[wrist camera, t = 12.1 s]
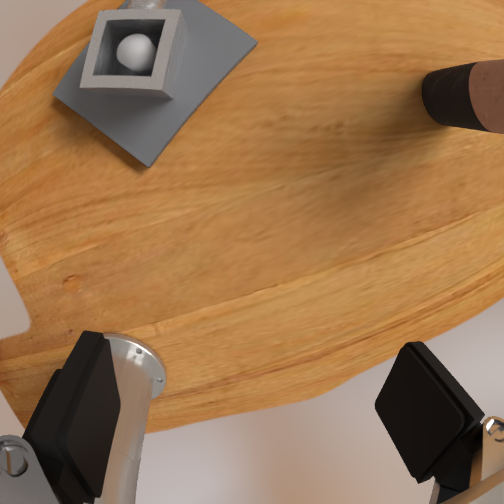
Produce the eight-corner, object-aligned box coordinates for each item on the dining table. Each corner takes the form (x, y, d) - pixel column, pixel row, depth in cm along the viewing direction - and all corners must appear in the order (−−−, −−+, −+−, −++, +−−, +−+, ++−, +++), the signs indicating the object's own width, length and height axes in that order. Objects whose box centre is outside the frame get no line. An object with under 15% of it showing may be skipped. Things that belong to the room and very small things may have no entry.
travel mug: (410, 76, 27) (552, 61, 8) (449, 63, 26) (577, 53, 8) (433, 136, 30) (573, 163, 11) (469, 117, 29) (595, 137, 10)
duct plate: (151, 165, 29) (136, 173, 23) (58, 95, 24) (29, 90, 19) (256, 45, 25) (264, 26, 19) (154, -19, 21) (143, -45, 15)
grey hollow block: (173, 98, 25) (161, 89, 19) (105, 95, 24) (79, 87, 18) (200, -8, 21) (196, -37, 15) (133, -10, 20) (116, -35, 14)
